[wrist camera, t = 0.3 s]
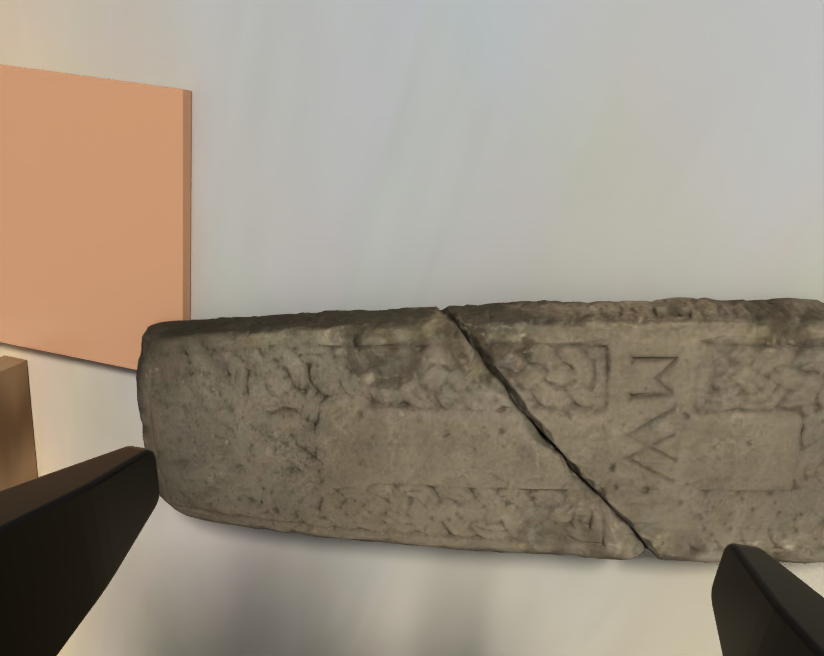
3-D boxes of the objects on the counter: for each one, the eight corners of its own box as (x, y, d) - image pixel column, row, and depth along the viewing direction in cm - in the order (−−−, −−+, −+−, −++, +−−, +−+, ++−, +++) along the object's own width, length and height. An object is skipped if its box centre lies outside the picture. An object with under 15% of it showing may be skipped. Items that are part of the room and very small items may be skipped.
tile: (189, 374, 26) (182, 379, 25) (-43, 327, 27) (-54, 330, 27) (191, 90, 22) (183, 89, 22) (-79, 54, 24) (-94, 52, 23)
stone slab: (110, 315, 22) (1022, 326, 17) (159, 294, 25) (947, 296, 19) (159, 536, 26) (936, 609, 20) (198, 494, 28) (883, 547, 23)
